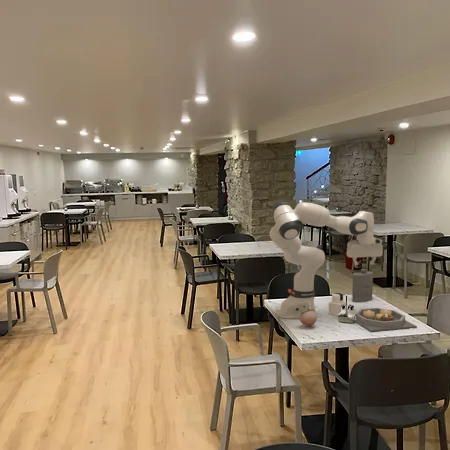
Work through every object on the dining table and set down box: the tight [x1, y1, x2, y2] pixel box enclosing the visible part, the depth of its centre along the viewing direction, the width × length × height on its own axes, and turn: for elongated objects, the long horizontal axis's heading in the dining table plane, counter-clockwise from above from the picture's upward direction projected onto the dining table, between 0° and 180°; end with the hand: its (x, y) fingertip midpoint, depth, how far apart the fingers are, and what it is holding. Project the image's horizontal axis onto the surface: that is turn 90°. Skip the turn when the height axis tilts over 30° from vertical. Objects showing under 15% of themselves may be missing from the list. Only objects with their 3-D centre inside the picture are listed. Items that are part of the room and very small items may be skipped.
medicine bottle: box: [328, 292, 347, 317], centre depth 255 cm, size 7×7×12 cm
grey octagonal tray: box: [354, 307, 418, 333], centre depth 241 cm, size 26×26×6 cm
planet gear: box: [381, 315, 394, 322], centre depth 236 cm, size 6×6×4 cm
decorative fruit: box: [298, 308, 318, 328], centre depth 235 cm, size 9×8×10 cm
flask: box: [351, 268, 374, 303], centre depth 282 cm, size 15×6×20 cm, turn 118°
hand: (364, 264), depth 249 cm, fingers open, 8 cm apart
